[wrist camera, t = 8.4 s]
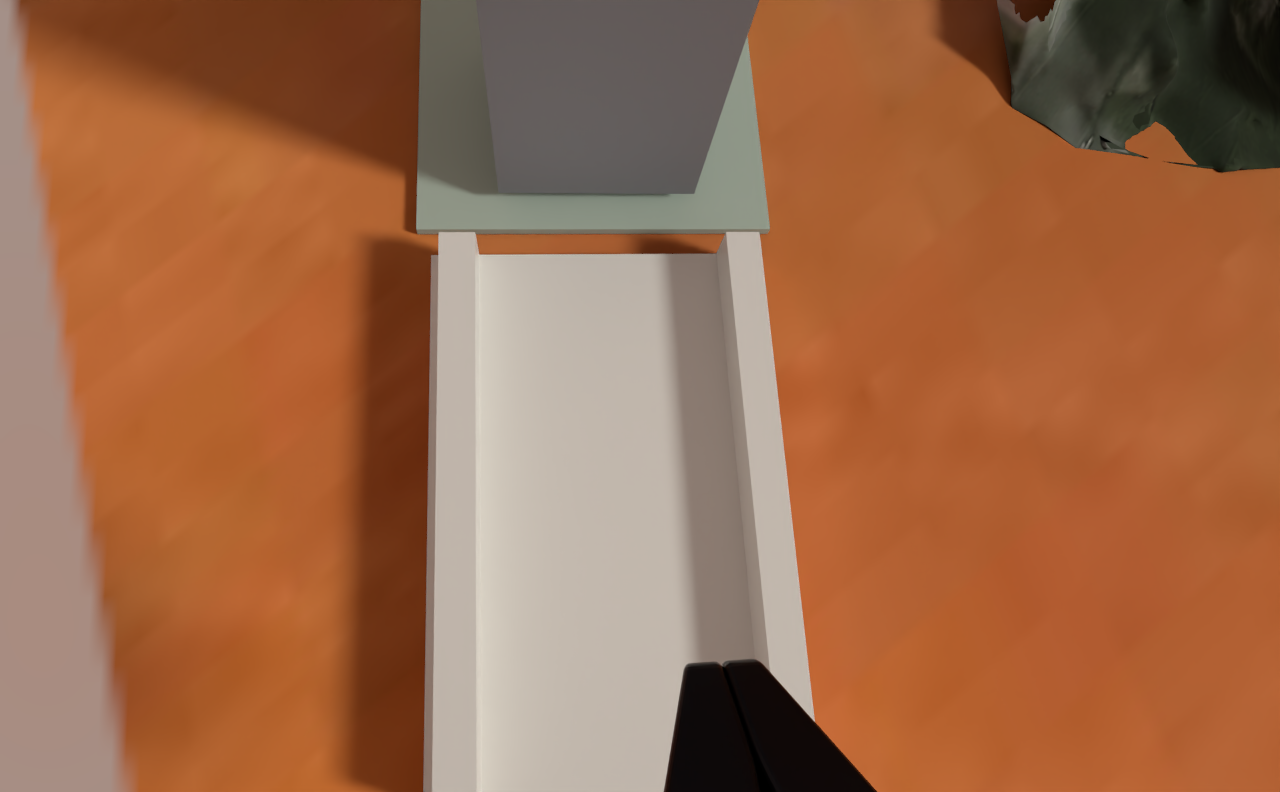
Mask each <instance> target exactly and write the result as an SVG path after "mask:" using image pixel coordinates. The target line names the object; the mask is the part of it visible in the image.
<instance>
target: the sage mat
mask: <svg viewBox="0 0 1280 792" xmlns="http://www.w3.org/2000/svg"><path fill="white" fill-rule="evenodd" d="M416 230H417V233H418V234H439V232H475V234H725V233H726V232H759V233H760V234H768V232H769V230H770V225H769V217H768V208H767V199H766V191H765V182H764V174H763V165H762V157H761V148H760V140H759V131H758V123H757V114H756V106H755V97H754V89H753V80H752V71H751V63H750V54H749V46H748V37H747V38H746V41H745V44H744V47H743V50H742V53H741V56H740V59H739V62H738V65H737V68H736V71H735V74H734V77H733V80H732V83H731V85H730V88H729V91H728V94H727V97H726V100H725V103H724V106H723V109H722V112H721V115H720V118H719V121H718V124H717V127H716V130H715V133H714V136H713V139H712V142H711V145H710V148H709V151H708V154H707V157H706V160H705V163H704V166H703V169H702V172H701V175H700V178H699V181H698V184H697V187H696V190H695V193H694V194H600V193H499V192H498V184H497V175H496V167H495V158H494V150H493V141H492V133H491V124H490V116H489V107H488V99H487V90H486V82H485V73H484V65H483V56H482V48H481V39H480V30H479V22H478V13H477V5H476V0H421V20H420V68H419V116H418V164H417V212H416Z"/></svg>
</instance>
